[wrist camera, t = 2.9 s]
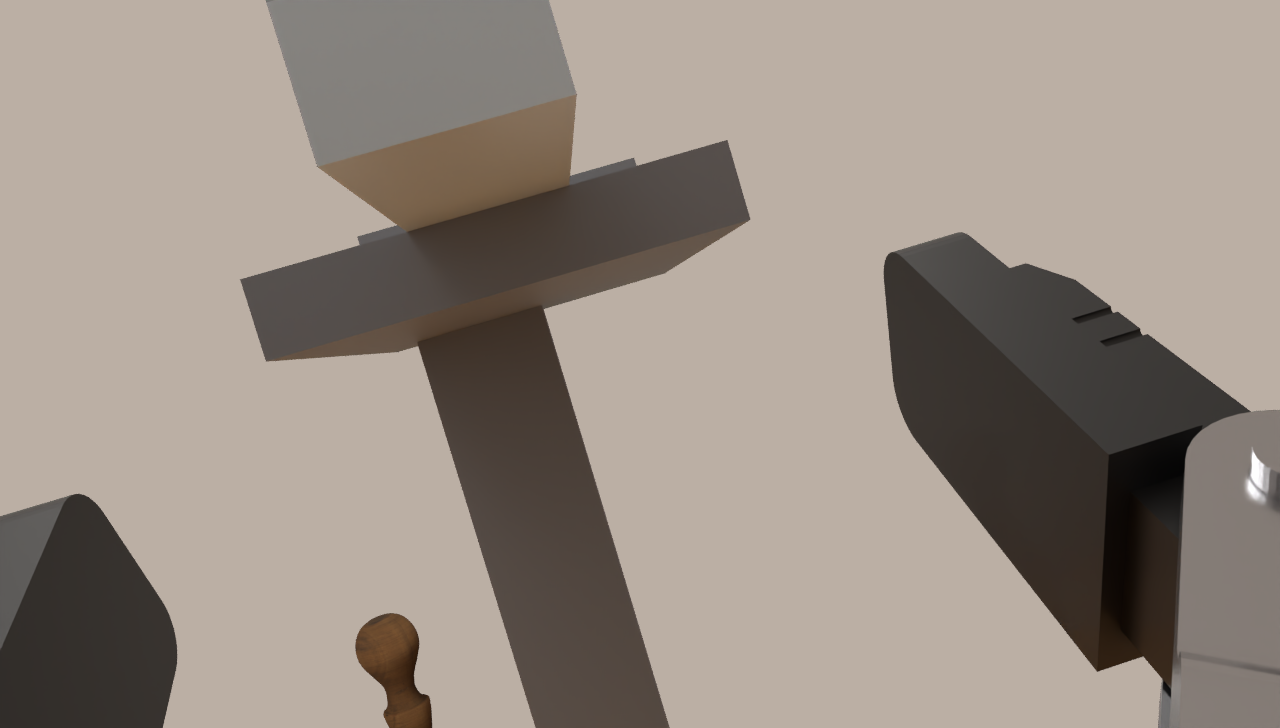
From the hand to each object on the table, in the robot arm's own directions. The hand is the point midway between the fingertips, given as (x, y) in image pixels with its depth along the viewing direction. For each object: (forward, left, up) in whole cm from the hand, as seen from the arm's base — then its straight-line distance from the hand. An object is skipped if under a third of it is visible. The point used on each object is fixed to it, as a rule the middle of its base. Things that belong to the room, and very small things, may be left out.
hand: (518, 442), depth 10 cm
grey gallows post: (-6, +24, -28) cm, 37 cm away
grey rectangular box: (-4, +17, +4) cm, 18 cm away
